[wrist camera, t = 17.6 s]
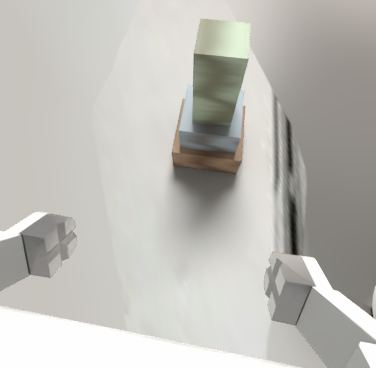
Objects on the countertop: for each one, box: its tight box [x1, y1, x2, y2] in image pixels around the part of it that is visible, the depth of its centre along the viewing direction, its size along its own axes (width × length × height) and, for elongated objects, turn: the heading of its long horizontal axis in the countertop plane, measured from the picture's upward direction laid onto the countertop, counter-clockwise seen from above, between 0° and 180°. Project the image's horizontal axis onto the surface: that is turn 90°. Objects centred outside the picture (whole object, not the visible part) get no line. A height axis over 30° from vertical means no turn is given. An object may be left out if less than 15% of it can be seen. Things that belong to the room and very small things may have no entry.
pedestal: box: [172, 85, 245, 173], centre depth 35 cm, size 10×10×8 cm
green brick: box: [192, 19, 251, 127], centre depth 27 cm, size 5×5×10 cm
